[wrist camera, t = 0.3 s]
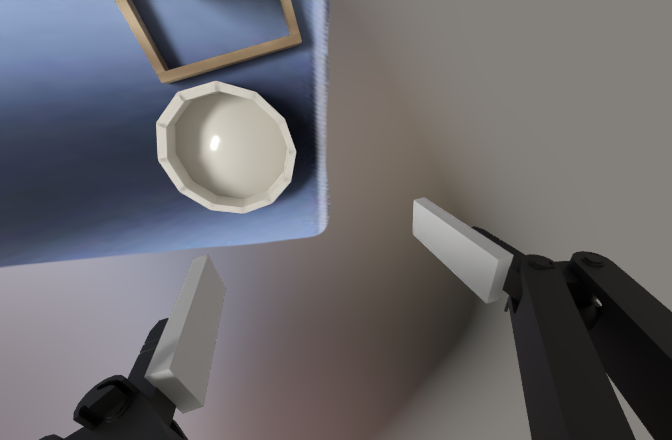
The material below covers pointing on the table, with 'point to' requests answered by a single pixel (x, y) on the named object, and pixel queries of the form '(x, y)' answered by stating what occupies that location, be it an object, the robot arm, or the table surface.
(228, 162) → the bowl
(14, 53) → the table surface
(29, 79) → the table surface
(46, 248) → the table surface
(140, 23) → the frame tray
